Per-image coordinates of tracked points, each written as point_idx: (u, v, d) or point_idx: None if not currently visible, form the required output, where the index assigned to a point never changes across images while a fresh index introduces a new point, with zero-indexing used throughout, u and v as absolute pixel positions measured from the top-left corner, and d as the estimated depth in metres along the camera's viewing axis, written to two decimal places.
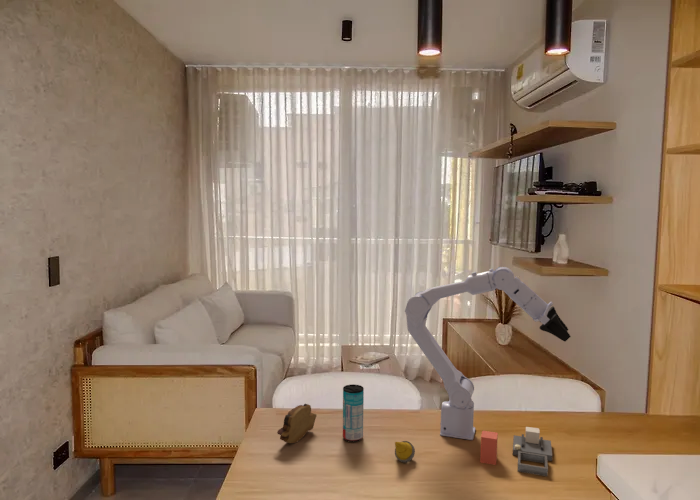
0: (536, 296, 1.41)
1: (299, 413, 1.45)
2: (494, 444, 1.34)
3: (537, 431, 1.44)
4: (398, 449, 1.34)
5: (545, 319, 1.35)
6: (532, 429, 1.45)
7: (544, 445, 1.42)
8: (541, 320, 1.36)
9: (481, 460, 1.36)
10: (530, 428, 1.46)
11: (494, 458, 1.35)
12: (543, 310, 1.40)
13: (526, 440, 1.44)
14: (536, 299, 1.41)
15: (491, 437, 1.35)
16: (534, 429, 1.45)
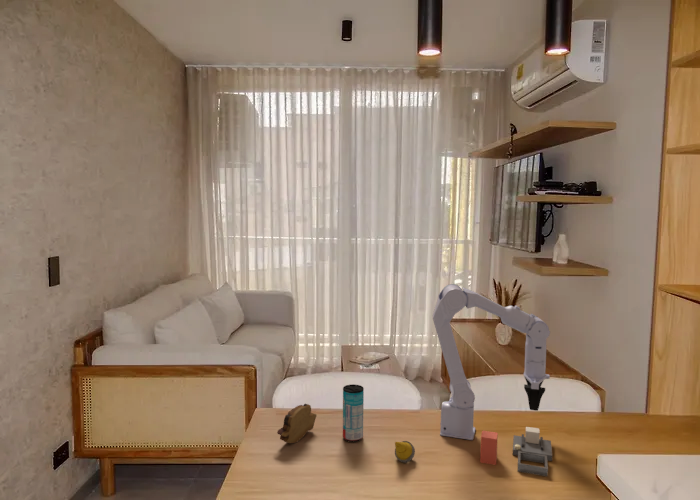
0: (544, 363, 1.47)
1: (299, 413, 1.45)
2: (494, 444, 1.34)
3: (537, 431, 1.44)
4: (398, 449, 1.34)
5: (536, 386, 1.42)
6: (532, 429, 1.45)
7: (544, 445, 1.42)
8: (532, 384, 1.43)
9: (481, 460, 1.36)
10: (530, 428, 1.46)
11: (494, 458, 1.35)
12: (539, 377, 1.46)
13: (526, 440, 1.44)
14: (542, 365, 1.46)
15: (491, 437, 1.35)
16: (534, 429, 1.45)
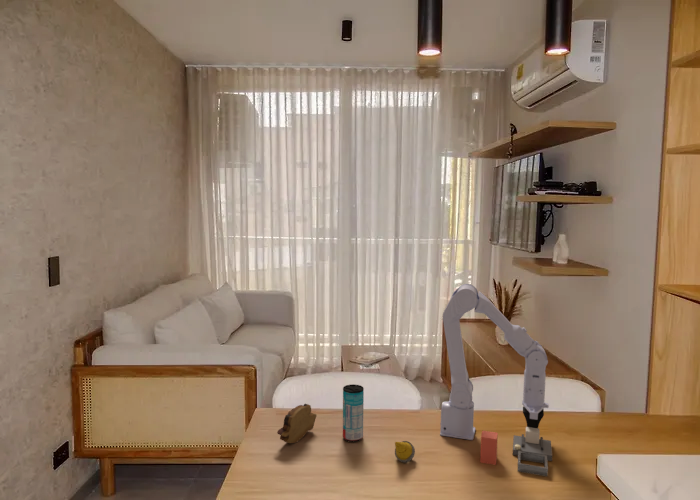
0: (543, 392, 1.44)
1: (299, 413, 1.45)
2: (494, 444, 1.34)
3: (537, 431, 1.44)
4: (398, 449, 1.34)
5: (535, 416, 1.40)
6: (532, 429, 1.45)
7: (544, 445, 1.42)
8: (531, 414, 1.40)
9: (481, 460, 1.36)
10: (530, 428, 1.46)
11: (494, 458, 1.35)
12: (538, 406, 1.44)
13: (526, 440, 1.44)
14: (541, 394, 1.44)
15: (491, 437, 1.35)
16: (534, 429, 1.45)
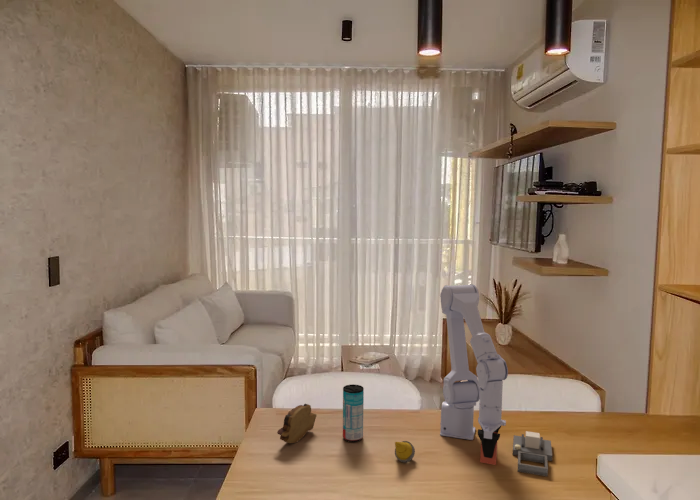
0: (500, 408, 1.34)
1: (299, 413, 1.45)
2: None
3: (537, 436, 1.41)
4: (398, 449, 1.34)
5: (489, 435, 1.29)
6: (532, 434, 1.42)
7: (544, 445, 1.42)
8: (485, 433, 1.30)
9: (481, 460, 1.36)
10: (530, 433, 1.43)
11: (494, 458, 1.35)
12: (493, 424, 1.33)
13: (526, 445, 1.41)
14: (497, 411, 1.33)
15: None
16: (534, 433, 1.42)
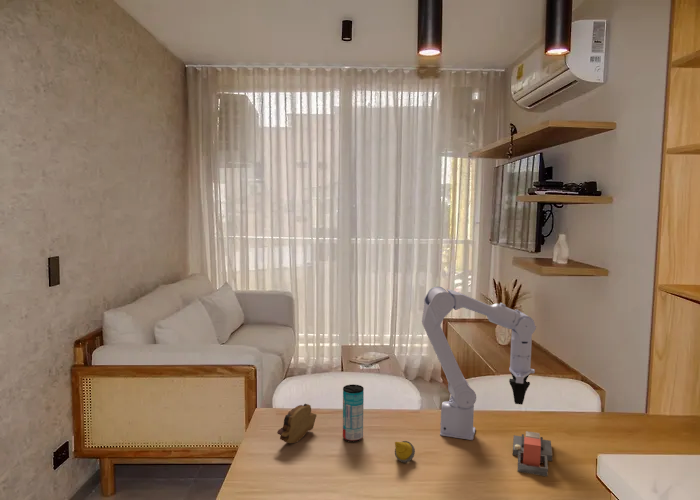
0: (529, 358, 1.49)
1: (299, 413, 1.45)
2: (538, 451, 1.31)
3: (537, 436, 1.41)
4: (398, 449, 1.34)
5: (520, 380, 1.45)
6: (532, 434, 1.42)
7: (544, 445, 1.42)
8: (517, 378, 1.45)
9: None
10: (530, 433, 1.43)
11: (538, 465, 1.31)
12: (524, 371, 1.49)
13: None
14: (527, 360, 1.49)
15: (534, 443, 1.32)
16: (534, 433, 1.42)
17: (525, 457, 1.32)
